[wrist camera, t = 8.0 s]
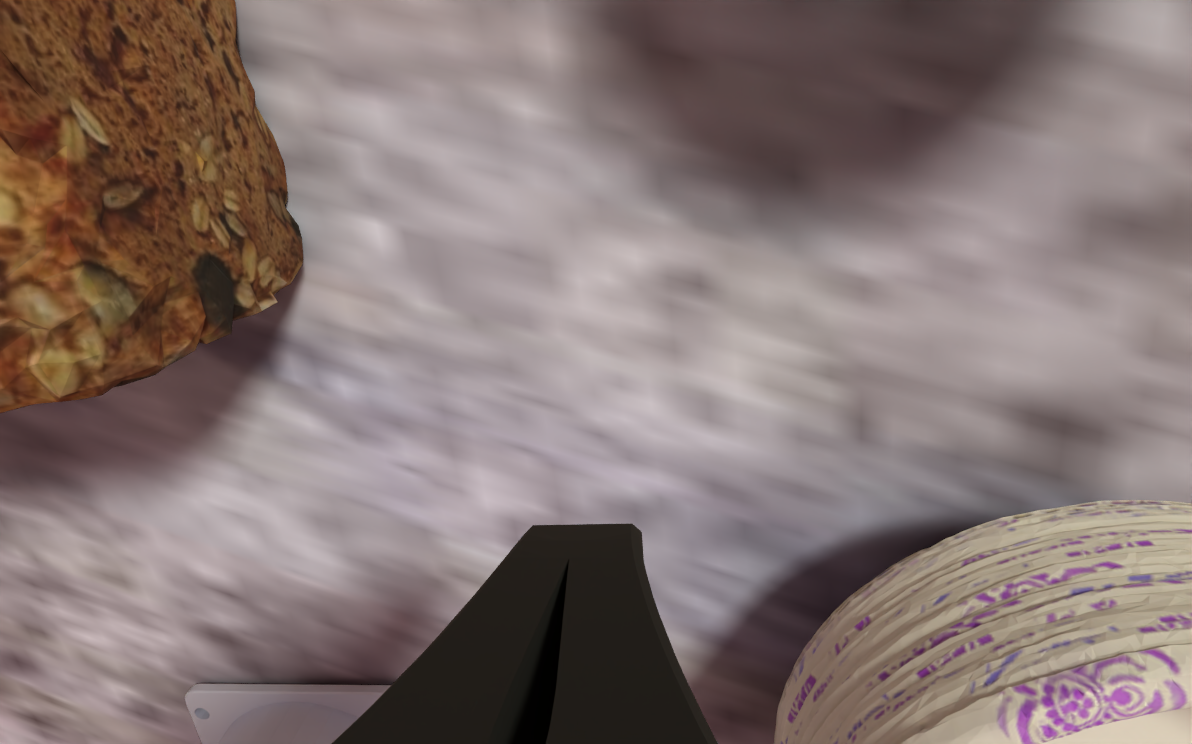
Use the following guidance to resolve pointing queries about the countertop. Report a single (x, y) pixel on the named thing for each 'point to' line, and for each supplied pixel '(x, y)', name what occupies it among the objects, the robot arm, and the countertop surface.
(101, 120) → the bread
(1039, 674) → the paper bowls
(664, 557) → the countertop surface
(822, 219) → the countertop surface
